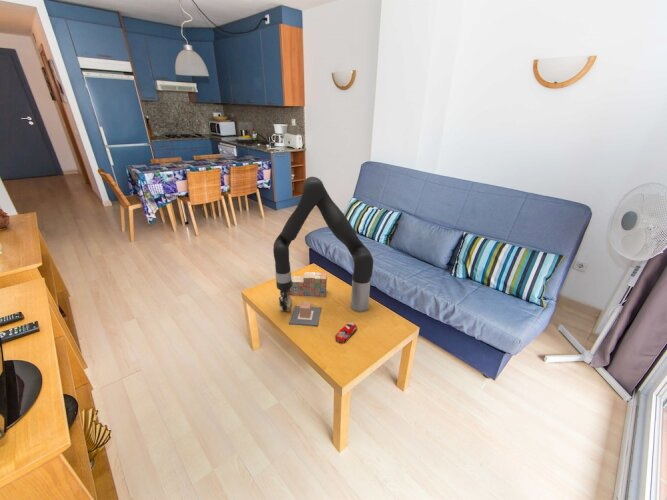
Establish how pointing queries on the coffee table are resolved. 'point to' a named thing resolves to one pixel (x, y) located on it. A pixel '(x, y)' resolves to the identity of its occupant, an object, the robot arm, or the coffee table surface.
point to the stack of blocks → (309, 284)
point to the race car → (346, 332)
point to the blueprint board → (305, 321)
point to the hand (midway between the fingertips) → (286, 306)
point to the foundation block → (305, 310)
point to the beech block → (289, 304)
